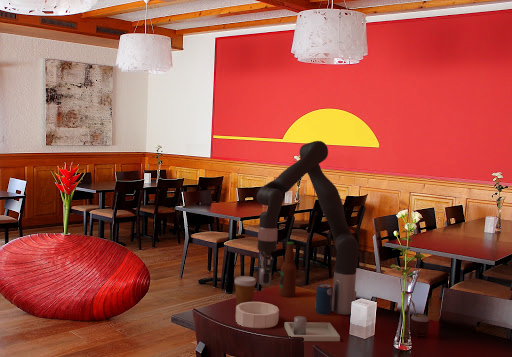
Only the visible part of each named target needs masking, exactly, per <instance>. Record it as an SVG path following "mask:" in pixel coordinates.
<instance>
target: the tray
mask: <svg viewBox="0 0 512 357" xmlns="http://www.w3.org/2000/svg"><path fill="white" fill-rule="evenodd" d="M283 324H284V329H285V331H286V333H287V335H288V337H289V336H291V337H303V338H304V341H303V342H341V336H340V334H339V333H338V332H337V330H336V329H335V327H334V326H333V325H332V324H331V322H322V321H321V322H320V321H319V322H317V321H316V322H310V321H309V322H307V321H306V335H294V321H291V322H290V321H285V322H284V323H283Z"/></svg>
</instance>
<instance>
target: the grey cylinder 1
mask: <svg viewBox="0 0 512 357" xmlns="http://www.w3.org/2000/svg"><path fill="white" fill-rule="evenodd" d="M266 270H269V268H266ZM263 271H264V268H263V267H260V268H259V277H258V278H259V279H258V284H259V285H262V286H270V285H271V284H272V283H271V281H272V272H271V273H270V274H269V283H264V282H263V277H264V273H263Z"/></svg>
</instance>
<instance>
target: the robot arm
mask: <svg viewBox="0 0 512 357" xmlns="http://www.w3.org/2000/svg"><path fill="white" fill-rule="evenodd" d="M328 155H329V148H328V146H327V144H326V143H325V142H324V141H323V140H322V141H321V140H314V141H310V142H308V143H304V144H303V145H301V146H300V148H299V158H300V159H298V160H297V161H296V162H295V163H293V164H291V165H290V166H288V167H287V168H285V169H284V170H283V171H282V172H281V173H280V174H279V175H278V176H277V177H276V178H275V179H273V180H271V181H270V182H268V183H266V184H264V185H263V186H262V187H260V188H259V190H258V191H257V193H256V200H257V202H258V203H259V204H260V205H261V206H267V207H268V208H267V210H266V211H262V212H260V214H259V226H258V231H257V232H258V234H257V251H259V252H261V253H260V268H262V267H263V268H264V271H263V273H264V277H263V282H264V283H269V274H270V273H271V274H272V266H273V256H272V254H271V253H274V252H276V251H277V248H278V247H277V246H278V217H279V215H280V213H281V209H282V207H283V206H282V205H283V202H284V195H283V194H287V193H288V192H289V191H290V190H291V189H293V187H294V186H295V185H296V184H297V183H298V182H299V181H300V180H302V178H303V177H304V176H305V175H306V174H307V175H308V178H309V179H310V181H311V184H312V187H313V190H314V192H315V195H316V199H317V201H318V204H319V207H320V209H321V211H322V213H323V215H324V218H325V220H326V221H327V223H328V225H329V227H330V230H331V233H332V237H333V242H334V245H335V246H334V247H335V250H336V256H335V264H334V269H333V270H334V271H333V273H334V274H333V285H332V286H333V287H332V289H333V296H332V311H331V312H332V313H335V314H337V315H346V316H347V315H351V314H350V312H351V302H352V301H355V300H356V301H357V291H356V279H357V269H358V263H359V251H360V247H359V246H360V245H359V243H358V242H359V241H357V239H356V238H355V237H354V235H353V233H352V232H351V230H350V227H349V225H348V222H347V219H346V214H345V210H344V204H343V201H342V198H341V195H340V193H339V190H338V188H337V187H336V185H335V184H334V183H333V182H332V181H331V180H330V179H329V178H328V177H327V176H326V175H325V174H324V172H323V170H322V168H321V166H320V164H321V163H323V162H324V161H325V160H326V159H327V158H328ZM266 268H269V270H266Z"/></svg>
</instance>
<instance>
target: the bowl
mask: <svg viewBox="0 0 512 357" xmlns="http://www.w3.org/2000/svg"><path fill="white" fill-rule="evenodd" d="M279 313H280V309H279V308H278V306H276V305H274V304H272V303H267V302H262V301H252V302H245V303H240V304H239V305H237V304H236V306H235V323H236V322H237V323H236V324H237V325H238V326H240V325H241V327H243V328H252V329H268V328H272V327H275V326H276V325H277V324H278V322H279V316H280V314H279Z"/></svg>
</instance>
